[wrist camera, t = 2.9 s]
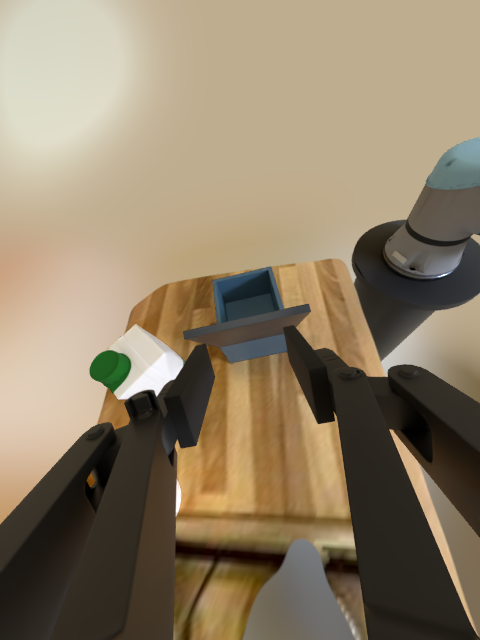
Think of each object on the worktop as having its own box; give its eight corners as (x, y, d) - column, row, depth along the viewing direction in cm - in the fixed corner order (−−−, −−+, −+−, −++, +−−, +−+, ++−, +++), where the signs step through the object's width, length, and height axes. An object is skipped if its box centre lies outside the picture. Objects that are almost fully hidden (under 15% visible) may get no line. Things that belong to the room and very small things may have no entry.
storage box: (222, 303, 54) (212, 280, 47) (273, 291, 53) (271, 266, 46) (230, 363, 46) (219, 346, 39) (290, 351, 45) (290, 331, 38)
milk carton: (152, 392, 46) (73, 358, 29) (183, 359, 48) (128, 310, 31) (178, 422, 42) (104, 403, 25) (211, 384, 44) (164, 344, 28)
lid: (182, 331, 22) (184, 339, 22) (308, 303, 21) (311, 311, 21) (218, 343, 38) (219, 347, 38) (290, 327, 37) (291, 332, 37)
